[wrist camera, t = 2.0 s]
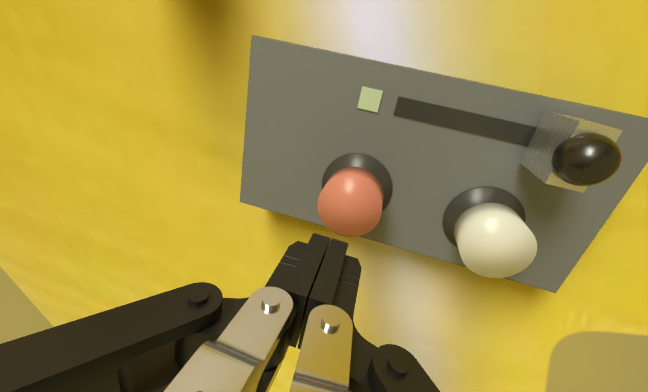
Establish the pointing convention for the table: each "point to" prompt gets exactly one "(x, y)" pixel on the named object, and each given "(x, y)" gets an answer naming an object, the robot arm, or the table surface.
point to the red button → (351, 202)
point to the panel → (419, 152)
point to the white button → (494, 240)
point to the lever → (572, 152)
